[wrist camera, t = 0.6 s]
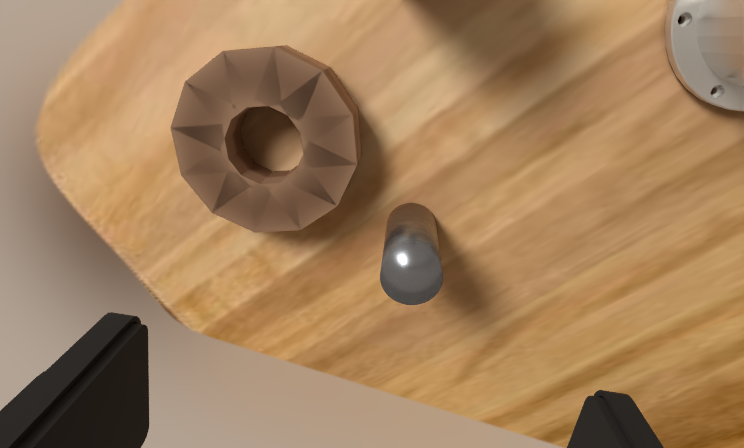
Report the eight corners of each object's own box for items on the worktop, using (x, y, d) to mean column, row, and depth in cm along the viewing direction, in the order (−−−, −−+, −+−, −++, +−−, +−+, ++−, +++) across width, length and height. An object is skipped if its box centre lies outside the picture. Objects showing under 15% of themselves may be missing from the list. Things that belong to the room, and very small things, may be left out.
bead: (351, 39, 35) (345, 40, 32) (366, 211, 40) (363, 227, 36) (177, 54, 36) (154, 56, 33) (211, 219, 41) (194, 235, 38)
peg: (435, 201, 39) (441, 247, 31) (436, 247, 40) (443, 304, 32) (384, 204, 39) (378, 250, 31) (388, 250, 41) (382, 305, 32)
